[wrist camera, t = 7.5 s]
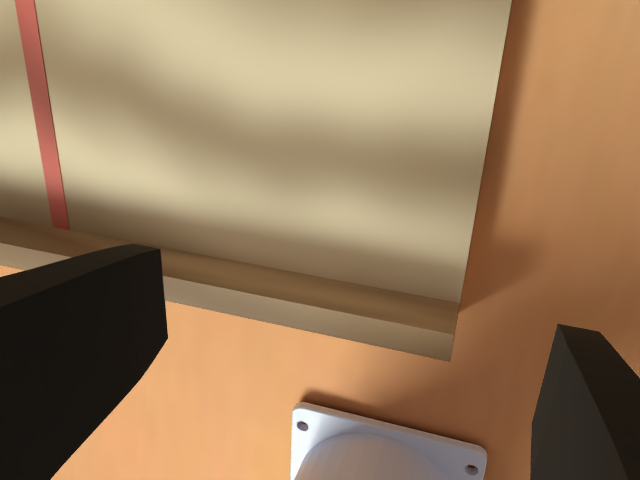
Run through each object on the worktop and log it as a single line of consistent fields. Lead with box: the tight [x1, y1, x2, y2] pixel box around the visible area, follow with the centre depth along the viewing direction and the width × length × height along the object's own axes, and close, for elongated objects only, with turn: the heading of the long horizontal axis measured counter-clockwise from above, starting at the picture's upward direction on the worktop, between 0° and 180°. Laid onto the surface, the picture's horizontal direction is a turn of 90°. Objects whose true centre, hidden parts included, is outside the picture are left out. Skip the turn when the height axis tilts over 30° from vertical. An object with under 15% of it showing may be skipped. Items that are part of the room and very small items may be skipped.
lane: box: [0, 0, 512, 362], centre depth 20 cm, size 13×28×3 cm, turn 88°
